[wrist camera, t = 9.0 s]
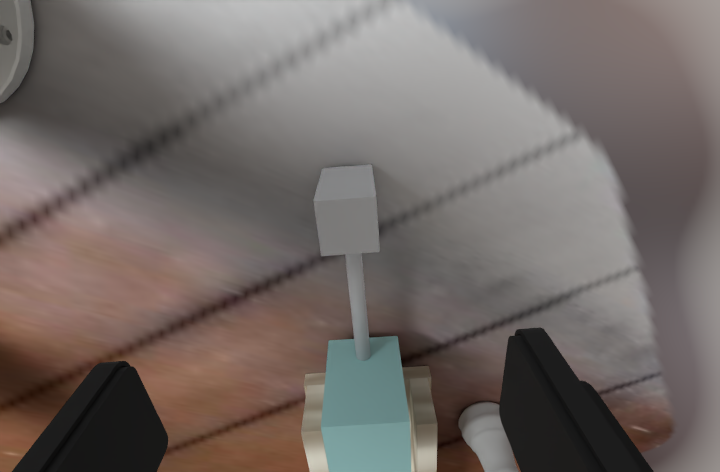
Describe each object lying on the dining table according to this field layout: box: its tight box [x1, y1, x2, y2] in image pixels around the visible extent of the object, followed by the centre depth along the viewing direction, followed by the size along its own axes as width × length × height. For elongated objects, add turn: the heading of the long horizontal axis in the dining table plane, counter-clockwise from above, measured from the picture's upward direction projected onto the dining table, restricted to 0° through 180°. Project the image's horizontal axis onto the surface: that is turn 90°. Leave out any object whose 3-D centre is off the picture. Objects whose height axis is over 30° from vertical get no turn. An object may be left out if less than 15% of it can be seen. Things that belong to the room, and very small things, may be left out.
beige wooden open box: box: [301, 366, 438, 472], centre depth 31 cm, size 14×10×5 cm
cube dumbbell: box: [313, 164, 411, 472], centre depth 23 cm, size 18×5×8 cm, turn 4°
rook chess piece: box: [458, 401, 518, 472], centre depth 30 cm, size 4×4×8 cm
